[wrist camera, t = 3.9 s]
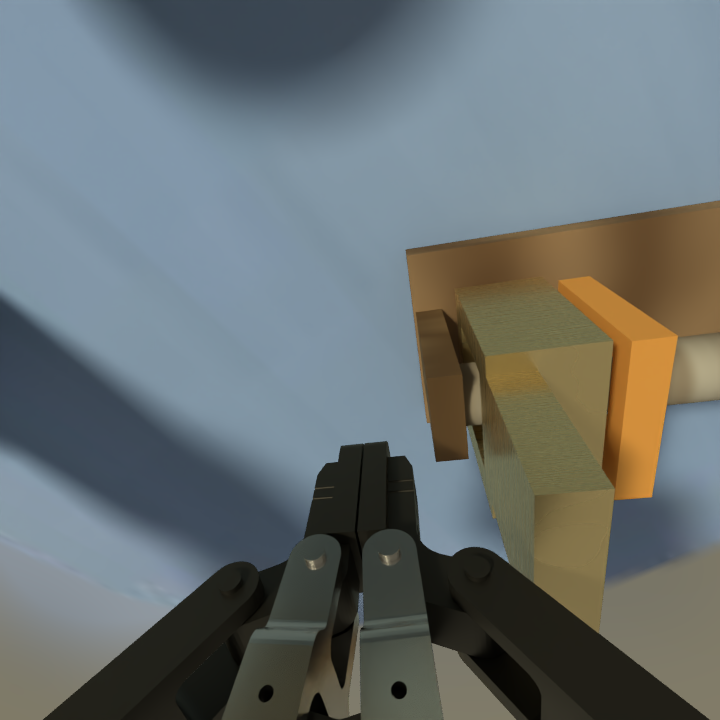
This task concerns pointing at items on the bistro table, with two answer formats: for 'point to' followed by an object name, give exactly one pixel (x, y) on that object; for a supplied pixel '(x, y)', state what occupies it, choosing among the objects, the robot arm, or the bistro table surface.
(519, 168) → the bistro table surface
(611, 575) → the bistro table surface
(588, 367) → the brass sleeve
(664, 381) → the orange upright board
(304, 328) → the bistro table surface
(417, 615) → the robot arm
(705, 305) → the pipe board
